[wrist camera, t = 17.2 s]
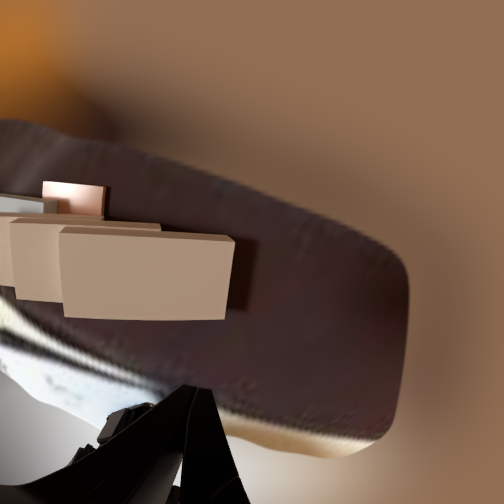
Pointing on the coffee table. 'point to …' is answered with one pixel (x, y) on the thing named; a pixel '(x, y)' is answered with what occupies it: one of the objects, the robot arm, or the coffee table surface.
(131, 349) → the coffee table surface
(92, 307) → the domino
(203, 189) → the coffee table surface
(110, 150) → the coffee table surface
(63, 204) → the tile
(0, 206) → the domino
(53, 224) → the domino
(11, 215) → the domino
